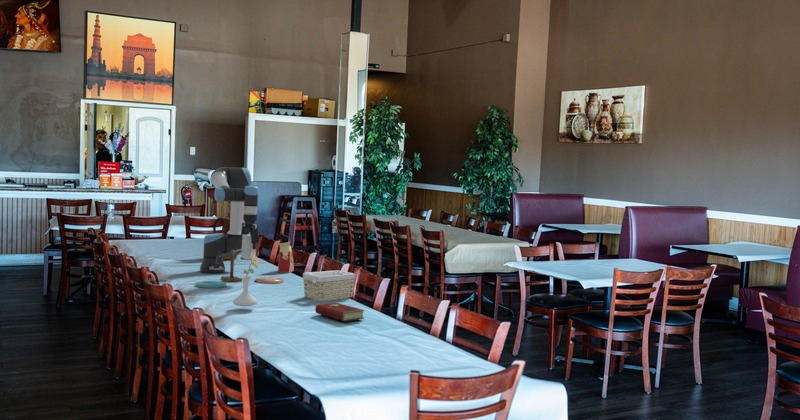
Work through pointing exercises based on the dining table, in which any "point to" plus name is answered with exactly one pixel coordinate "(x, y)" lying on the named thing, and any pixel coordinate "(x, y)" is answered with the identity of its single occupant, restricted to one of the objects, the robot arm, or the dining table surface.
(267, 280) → the terracotta dish
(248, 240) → the small box
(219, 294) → the dining table surface
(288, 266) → the milk carton
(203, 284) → the teal dish
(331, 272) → the storage basket
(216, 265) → the balance
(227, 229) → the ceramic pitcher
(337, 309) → the hardcover book
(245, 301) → the flower in vase
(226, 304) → the dining table surface
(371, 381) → the dining table surface
